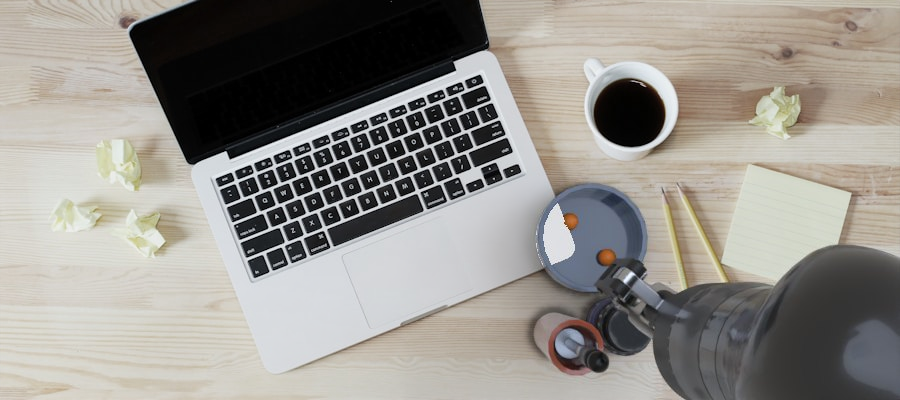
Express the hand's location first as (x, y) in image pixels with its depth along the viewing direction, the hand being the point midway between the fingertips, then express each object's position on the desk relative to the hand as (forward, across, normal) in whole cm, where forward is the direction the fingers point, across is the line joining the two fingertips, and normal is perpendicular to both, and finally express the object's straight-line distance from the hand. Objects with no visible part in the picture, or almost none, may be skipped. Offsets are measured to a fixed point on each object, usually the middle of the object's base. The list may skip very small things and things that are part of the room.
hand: (666, 334), depth 57 cm
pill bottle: (+31, +1, 0) cm, 31 cm away
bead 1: (+29, -10, +6) cm, 31 cm away
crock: (+31, -3, -5) cm, 31 cm away
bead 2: (+29, -4, +6) cm, 30 cm away
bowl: (+31, -7, +6) cm, 32 cm away
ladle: (+17, -3, -5) cm, 18 cm away
